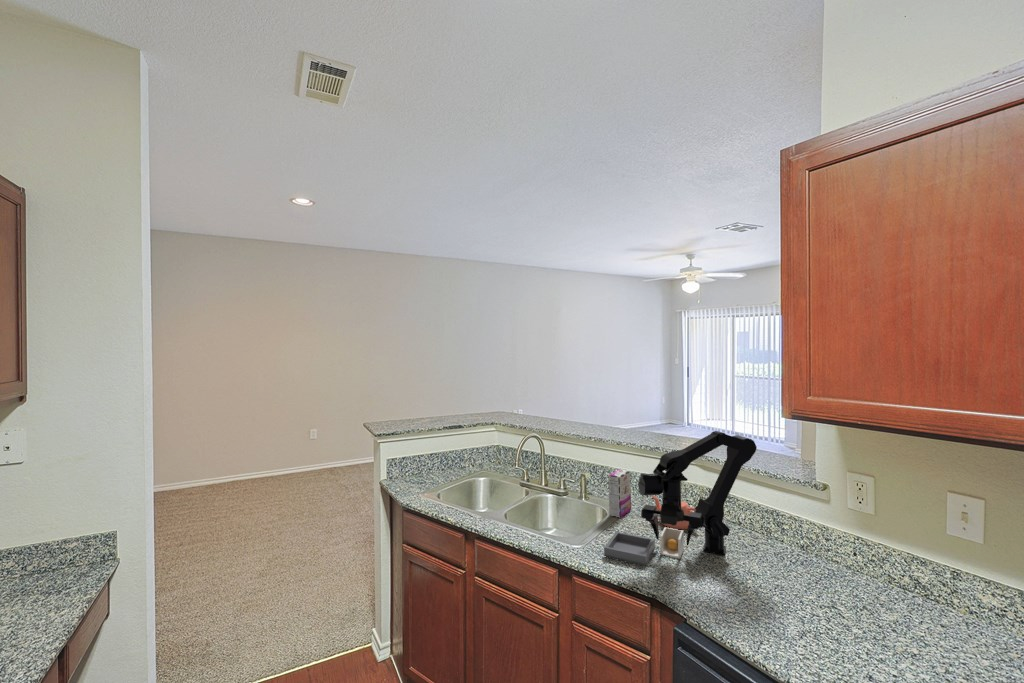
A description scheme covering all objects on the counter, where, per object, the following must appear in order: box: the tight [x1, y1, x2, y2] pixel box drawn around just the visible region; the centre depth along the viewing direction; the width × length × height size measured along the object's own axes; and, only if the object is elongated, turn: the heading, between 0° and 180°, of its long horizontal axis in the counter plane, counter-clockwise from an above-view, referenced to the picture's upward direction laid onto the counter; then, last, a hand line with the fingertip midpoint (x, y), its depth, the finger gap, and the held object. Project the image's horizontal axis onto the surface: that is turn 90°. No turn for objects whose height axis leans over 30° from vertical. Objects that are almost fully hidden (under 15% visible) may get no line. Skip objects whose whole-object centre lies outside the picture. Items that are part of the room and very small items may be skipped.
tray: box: [603, 531, 656, 567], centre depth 144 cm, size 14×13×3 cm
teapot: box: [650, 495, 696, 530], centre depth 168 cm, size 12×18×10 cm
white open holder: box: [659, 526, 685, 560], centre depth 144 cm, size 8×6×6 cm
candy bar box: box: [608, 468, 632, 519], centre depth 179 cm, size 11×5×16 cm, turn 143°
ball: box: [667, 539, 678, 550], centre depth 145 cm, size 3×3×3 cm
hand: (672, 542), depth 144 cm, fingers open, 9 cm apart
